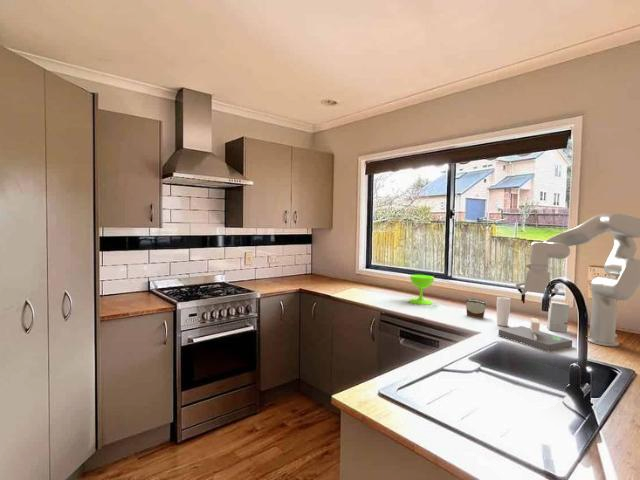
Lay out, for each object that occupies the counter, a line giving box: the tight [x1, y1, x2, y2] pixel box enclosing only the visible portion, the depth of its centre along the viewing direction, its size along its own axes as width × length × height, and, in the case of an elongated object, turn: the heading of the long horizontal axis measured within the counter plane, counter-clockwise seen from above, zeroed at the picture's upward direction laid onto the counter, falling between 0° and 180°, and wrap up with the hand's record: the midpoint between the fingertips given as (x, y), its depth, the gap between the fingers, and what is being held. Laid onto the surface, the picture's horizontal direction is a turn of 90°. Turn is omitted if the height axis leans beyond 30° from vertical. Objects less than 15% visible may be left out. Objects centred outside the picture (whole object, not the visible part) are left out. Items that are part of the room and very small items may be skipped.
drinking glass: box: [496, 296, 512, 327], centre depth 197 cm, size 7×7×15 cm
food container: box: [464, 297, 488, 319], centre depth 215 cm, size 12×6×10 cm, turn 47°
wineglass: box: [408, 274, 435, 306], centre depth 250 cm, size 16×16×18 cm
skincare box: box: [546, 300, 570, 333], centre depth 191 cm, size 8×6×15 cm
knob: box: [529, 317, 541, 339], centre depth 168 cm, size 15×3×6 cm, turn 152°
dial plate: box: [497, 325, 573, 352], centre depth 170 cm, size 18×24×3 cm
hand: (535, 304), depth 170 cm, fingers open, 9 cm apart
